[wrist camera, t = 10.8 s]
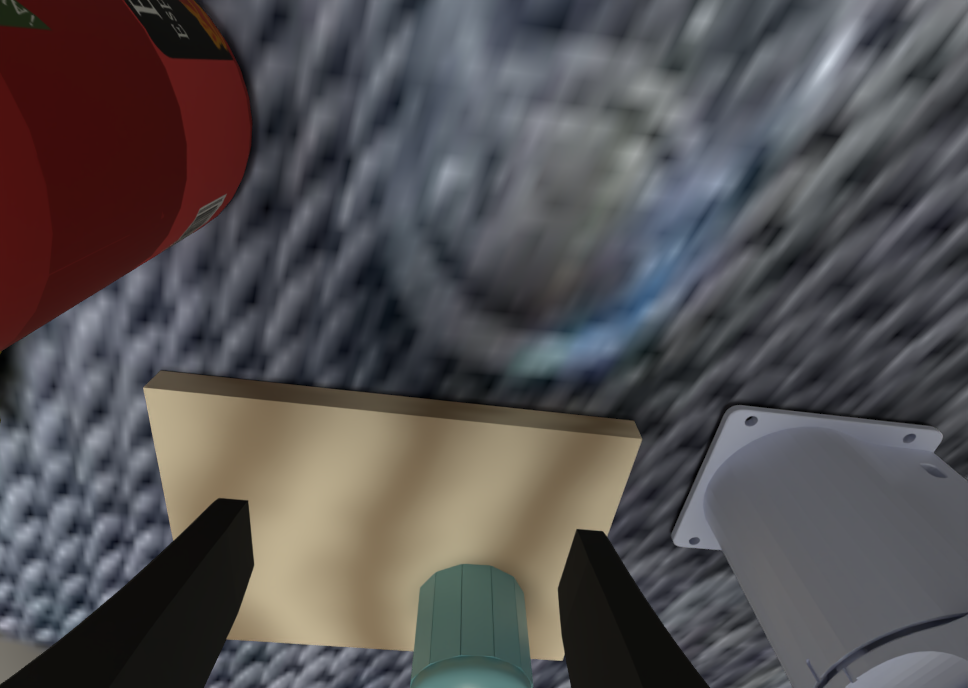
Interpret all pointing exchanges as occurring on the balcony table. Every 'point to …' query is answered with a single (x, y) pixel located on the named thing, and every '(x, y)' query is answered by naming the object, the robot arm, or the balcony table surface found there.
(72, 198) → the canned food
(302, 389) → the birch board
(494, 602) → the teal cap
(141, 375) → the balcony table surface
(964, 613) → the robot arm
